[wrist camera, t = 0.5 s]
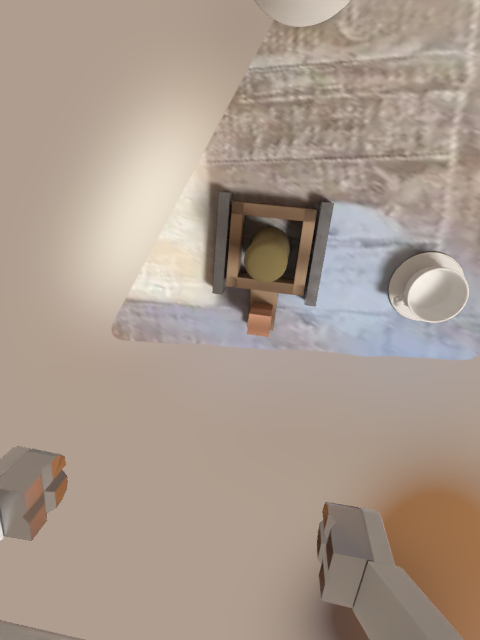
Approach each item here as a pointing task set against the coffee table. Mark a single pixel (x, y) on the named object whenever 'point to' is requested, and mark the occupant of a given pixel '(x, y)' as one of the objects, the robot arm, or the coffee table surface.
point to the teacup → (429, 288)
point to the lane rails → (224, 237)
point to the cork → (267, 254)
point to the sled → (267, 293)
